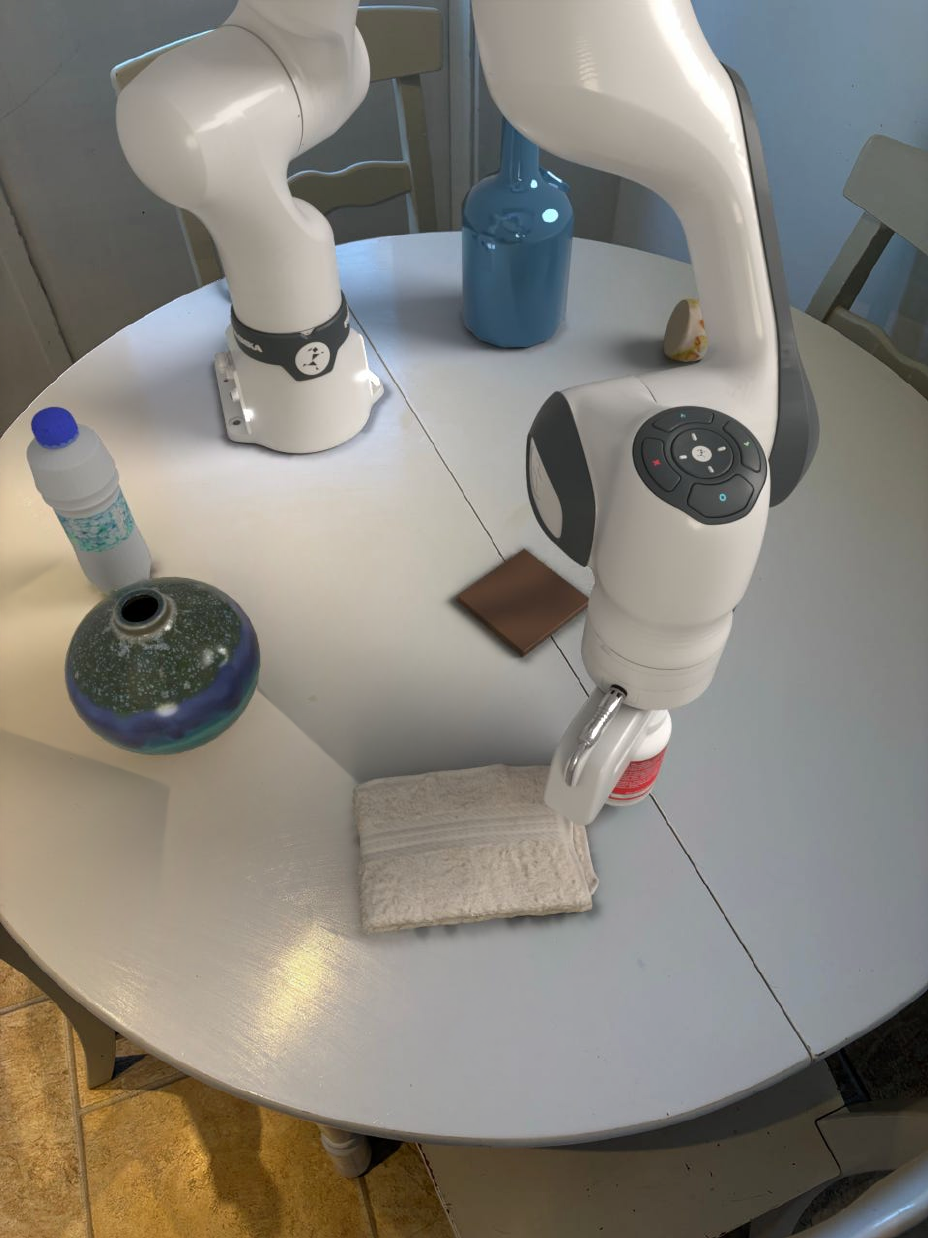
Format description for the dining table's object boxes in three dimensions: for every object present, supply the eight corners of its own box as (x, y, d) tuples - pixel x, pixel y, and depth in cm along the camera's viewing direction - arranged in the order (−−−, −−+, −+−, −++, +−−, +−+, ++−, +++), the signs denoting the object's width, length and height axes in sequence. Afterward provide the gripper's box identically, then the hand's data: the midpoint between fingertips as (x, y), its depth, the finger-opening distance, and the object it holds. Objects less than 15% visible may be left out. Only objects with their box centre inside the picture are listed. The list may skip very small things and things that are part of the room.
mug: (756, 373, 106) (736, 319, 99) (676, 394, 111) (651, 343, 103) (752, 325, 110) (733, 268, 102) (675, 346, 114) (650, 294, 106)
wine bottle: (517, 365, 107) (530, 98, 84) (439, 322, 113) (430, 60, 90) (588, 318, 113) (618, 56, 90) (510, 279, 119) (520, 23, 96)
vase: (57, 712, 77) (-8, 617, 67) (196, 606, 84) (157, 506, 74) (168, 817, 71) (116, 730, 61) (308, 693, 78) (283, 597, 68)
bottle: (172, 561, 88) (106, 397, 72) (135, 610, 84) (58, 449, 69) (113, 545, 90) (37, 380, 74) (75, 593, 86) (-15, 430, 70)
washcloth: (602, 914, 66) (607, 898, 64) (360, 943, 65) (356, 928, 62) (571, 772, 73) (574, 753, 71) (353, 796, 72) (349, 778, 70)
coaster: (456, 600, 85) (456, 595, 84) (523, 553, 88) (524, 548, 88) (523, 657, 81) (523, 652, 80) (590, 605, 84) (591, 599, 84)
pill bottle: (667, 763, 72) (694, 688, 63) (634, 823, 69) (657, 752, 60) (598, 728, 74) (615, 650, 65) (563, 784, 71) (576, 710, 62)
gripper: (619, 785, 51) (593, 878, 62) (758, 562, 61) (714, 676, 72) (526, 732, 53) (516, 831, 64) (674, 526, 64) (645, 641, 74)
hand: (622, 747), depth 68 cm, fingers closed on pill bottle, 6 cm apart
